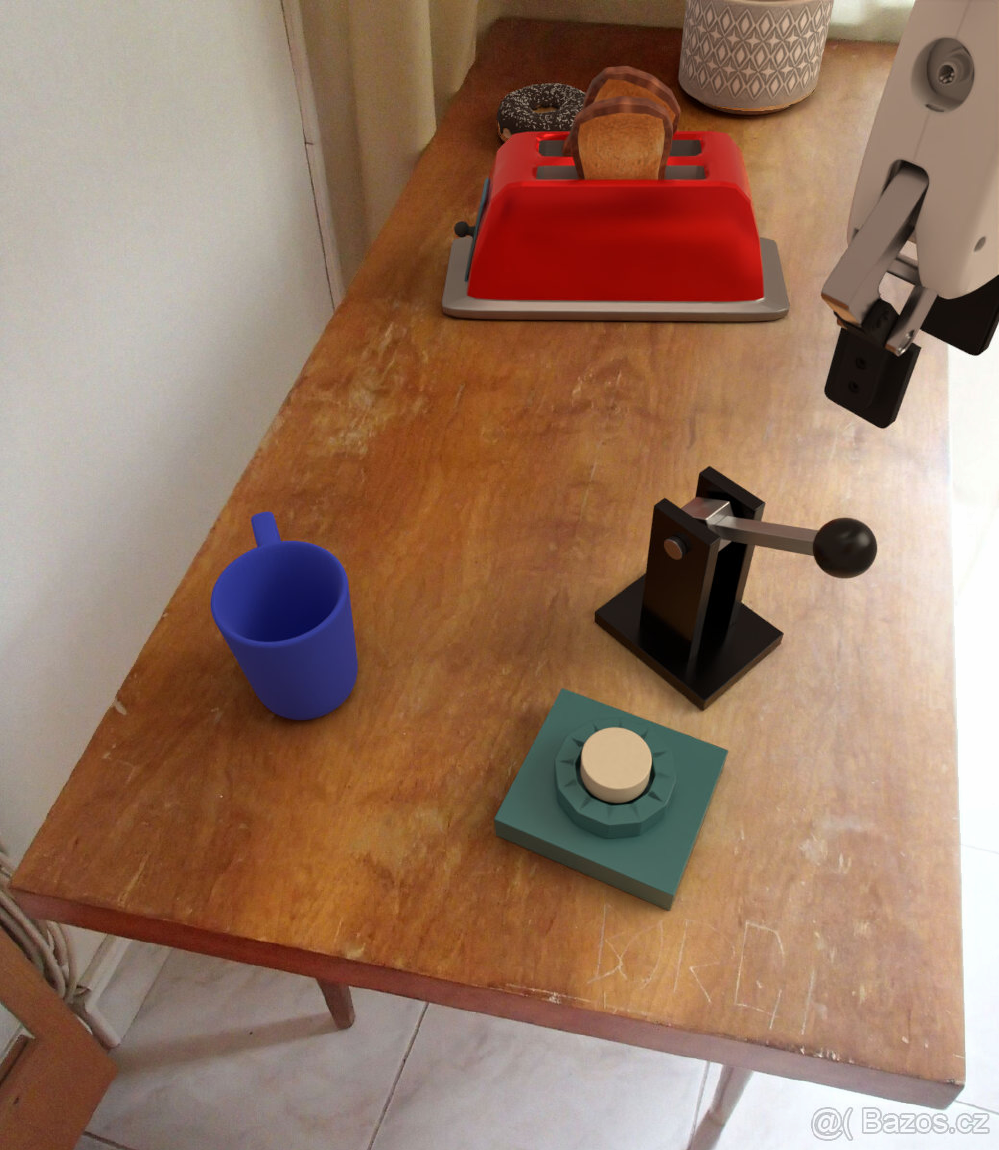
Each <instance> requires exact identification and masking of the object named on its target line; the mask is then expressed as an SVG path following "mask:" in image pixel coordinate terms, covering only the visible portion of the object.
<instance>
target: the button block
mask: <svg viewBox="0 0 999 1150" xmlns="http://www.w3.org/2000/svg"><path fill="white" fill-rule="evenodd" d="M614 727H616V728H624V729H627V730H630V731H632V732H634V733H636V734H637V735H639V736H640V737H641V738H642V739H643V740H644V741H645V743H646V744H647V746H648V747H649V749H650V752H651V757H652V764H651V770H650V776H649V781H648V784H647V786H646V788H645V790H644V791H643V792H642V793H641V794H640V795H639V796H638V797H636V798H634V799H632V800H630V801H627V802H623V803H611V802H606V801H603V800H601V799H599V798H597V797H595V796H594V795H593V794H592V793H590V792H589V790H588V789H587V788H586V787H585V785H584V783H583V781H582V778H581V754H582V749H583V746H584V744H585V743H586V741H587V740H588V738H590V737H591V736H592V735H593V734H594V733H596V732H598V731H600V730H602V729H606V728H614ZM728 755H729V750H728V749H726V748H723V747H721V746H719V745H715V744H713V743H710V742H707V741H704V740H702V739H700V738H696V737H694V736H691V735H688V734H686V733H683V732H681V731H678V730H675V729H673V728H670V727H668V726H665V725H662V724H659V723H657V722H654V721H651V720H649V719H646V718H644V717H641V716H638V715H636V714H633V713H630V712H628V711H625V710H622V709H619V708H617V707H614V706H611V705H609V704H606V703H603V702H601V701H598V700H596V699H593V698H590V697H587V696H585V695H582V694H580V693H577V692H574V691H571V690H569V689H566V688H563V687H562V688H560V691H559V693H558V694H557V696H556V697H555V700H554V702H553V704H552V706H551V708H550V709H549V712H548V714H547V716H546V718H545V719H544V721H543V723H542V725H541V726H540V729H539V731H538V733H537V735H536V736H535V739H534V740H533V742H532V745H531V746H530V748H529V750H528V752H527V754H526V756H525V758H524V760H523V762H522V764H521V766H520V768H519V769H518V771H517V774H516V775H515V778H514V779H513V781H512V783H511V785H510V787H509V789H508V790H507V793H506V794H505V797H504V799H503V801H502V803H501V804H500V806H499V809H498V810H497V812H496V814H495V816H494V818H493V821H494V822H493V823H494V833H495V836H496V837H499V838H501V839H503V840H506V841H508V842H509V843H510V842H511V843H513V844H515V845H518V846H520V847H522V848H524V849H527V850H529V851H531V852H533V853H536V854H538V855H540V856H543V857H545V858H547V859H548V860H552V861H554V862H557V863H559V864H561V865H563V866H566V867H568V868H570V869H573V870H575V871H577V872H580V873H582V874H584V875H586V876H588V877H591V878H593V879H595V880H597V881H599V882H603V883H605V884H607V885H610V886H611V887H614V888H616V889H618V890H621V891H623V892H625V893H627V894H630V895H632V896H634V897H637V898H639V899H642V900H644V901H646V902H649V903H651V904H653V905H655V906H657V907H660V908H662V909H664V910H667V911H671V910H672V908H673V905H674V902H675V900H676V896H677V894H678V891H679V889H680V886H681V884H682V882H683V881H682V880H683V878H684V875H685V872H686V870H687V868H688V865H689V862H690V859H691V857H692V854H693V852H694V849H695V846H696V843H697V841H698V838H699V836H700V833H701V830H702V827H703V825H704V822H705V819H706V817H707V814H708V811H709V809H710V805H711V803H712V801H713V798H714V796H715V793H716V790H717V787H718V784H719V781H720V779H721V776H722V773H723V772H724V768H725V766H726V765H725V764H726V762H727V758H728Z"/></svg>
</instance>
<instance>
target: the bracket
mask: <svg viewBox="0 0 999 1150" xmlns="http://www.w3.org/2000/svg"><path fill="white" fill-rule="evenodd" d="M695 497H701V498H709V499H716V500H723V501H729V502H730V505H731V508H732V511H733V515H734V517H736V518H743V519H749V520H755V521H762V520H763V517H764V511H765V507H766V502H765V501H764V500H762V499H761V498H759V497H758V496H756V495H755V494H754V493H752V492H750V491H748V490H747V489H746V488H744V486H741V485H740V484H738V483H737V482H735V481H734V480H732V479H731V478H729V477H727V476H726V475H724V474H723V473H722V472H720V471H718V470H717V469H716V468H714V467H712V466H711V465H708V466H706V467H705V468H704V469H703V470H702V471H700V472H699V473H698V478H697V484H696V489H695V495H694V498H695ZM681 508H682V507H679V506H678V505H676V504H675V503H673V502H672V501H671V500H670V499H668V498H666V497H664V498H662V499H661V500H659V501H658V502H656V503H655V504H654V505H653V509H652V516H651V517H652V519H651V527H650V534H649V542H648V551H647V559H646V568H645V573H644V574H642V575H641V576H639V577H638V578H637V579H636V580H634V581H633V582H631V583H630V584H629V585H628V586H627V587H625V588H624V589H623V590H621V591H620V592H619V593H617V594H616V595H615V596H613V597H612V598H611V599H609V600H608V601H607V602H605V603H604V604H603V605H601V606H600V607H599V608H597V609H596V610H594V619H593V622H594V623H595V624H597V626H599V628H600V629H602V630H603V631H604V632H606V633H607V634H608V635H610V636H611V637H612V638H613V639H614V640H616V641H617V642H618V643H619V644H620V645H622V646H623V647H624V648H625V649H626V650H628V651H629V653H631V654H633V655H634V656H635V657H636V658H638V659H639V660H640V661H641V662H642V663H643V664H644V665H646V666H647V667H648V668H649V669H650V670H652V671H653V672H654V673H656V674H657V675H658V676H659V677H660V678H661V679H663V680H664V681H665V682H666V683H668V684H669V685H670V686H671V687H672V688H674V689H675V690H676V691H677V692H678V693H679V694H681V695H682V696H684V697H685V698H686V699H687V700H688V701H689V702H691V704H693V705H694V706H695V707H697V708H698V709H699V710H700V711H701V712H704V711H705V710H706V709H707V708H709V707H710V706H711V705H712V704H713V703H714V702H716V701H717V700H718V699H719V698H720V697H721V696H723V695H724V694H725V693H726V692H727V691H728V690H730V689H731V688H732V687H733V686H734V685H736V683H738V682H739V681H740V680H741V679H742V678H744V676H746V674H748V673H749V672H750V671H752V670H753V669H754V668H755V667H756V666H757V665H758V664H759V663H760V662H762V661H763V660H764V659H765V658H766V657H768V656H769V655H770V654H771V653H772V652H773V651H775V649H777V648H778V647H779V646H780V645H781V644H782V641H783V638H784V635H785V634H784V632H782V631H781V630H780V629H779V628H777V627H776V626H775V625H773V624H771V623H770V622H769V621H768V620H766V619H765V618H763V617H762V616H761V615H760V614H758V613H757V612H756V611H754V610H752V609H751V608H750V607H749V606H748V605H746V604H744V603H743V602H742V601H743V597H744V593H745V589H746V585H747V581H748V577H749V572H750V569H751V565H752V561H753V556H754V552H755V549H756V546H755V545H750V544H744V543H739V542H734V541H731V542H730V543H729V544H728V545H726V546H725V547H724V548H722V549H721V550H720V551H719V546H720V541H721V536H719V535H718V534H716V533H715V532H713V531H712V530H711V529H709V528H708V527H706V526H705V525H703V524H702V523H701V522H699V521H698V520H696V519H695V518H693V517H692V516H691V515H689V514H688V513H686V512H685V511H683V510H682V509H681ZM718 551H719V552H718Z"/></svg>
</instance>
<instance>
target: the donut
mask: <svg viewBox="0 0 999 1150" xmlns="http://www.w3.org/2000/svg"><path fill="white" fill-rule="evenodd" d="M585 95H586V92H583V91H582V90H580V89H578V88H575V87H574V86H571V85H568V84H563V83H559V82H557V83H554V82H553V83H542V84H532V85H527V86H524V87H522V88H519V89H517V90H515V91H512V92H509V93H508V94H506V95H505V97H504V98H502V100H501V101H500V104H499V105H498V108H497V112H496V118H495V119H496V122H497V121H498V126H499V130H500V133H501V134H503V135H504V136H505V137H506V138H510V137H511V136H512V135H513V134H516V133H522V132H560V131H570V130H571V127H572V124H573V121H574V118H575V115H576V114H577V113H579V112H580V111H581V109H582V105H583V101H584V97H585ZM499 137H500V139H501V141H502V142H504V143H505V142H506V141H505V140H504V139H503V138H502V137H501V136H500V135H499Z"/></svg>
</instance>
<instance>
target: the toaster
mask: <svg viewBox="0 0 999 1150" xmlns="http://www.w3.org/2000/svg"><path fill="white" fill-rule="evenodd" d="M585 94H586V95H585V97H584V101H583V105H582V109H581V111H580V112H579V113H577V114H576V115H575V118H574V121H573V124H572V127H571V130H570V131H560V132H522V133H516V134H513V135H512V136H511V137H510V138H509V139H508V140H507V141H506V142H504V143H503V144H502V145H501V146H500V147H499V148H498V149H497V150H496V154H495V156H494V159H493V163H492V165H491V168H490V171H489V174H488V177H485V179H484V183H483V187H482V191H481V195H480V201H479V205H478V210H477V213H476V214H477V215H476V220H475V224H474V225H473V226H472V225H469V224H468V222H466V221H464V220H460V221H457V222H456V224H455V225H454V228H453V231H454V233H455V235H456V236H457V237H458V238H454V239H453V240H452V242H451V245H450V252H449V257H448V263H447V270H446V274H445V275H446V276H445V281H444V287H443V291H442V299H441V309H442V312H443V313H444V314H445V315H448V316H451V317H454V318H459V319H476V320H522V321H523V320H526V321H527V320H530V321H531V320H533V321H535V320H536V321H538V320H539V321H543V320H544V321H545V320H546V321H556V320H557V321H641V322H642V321H646V322H647V321H648V322H649V321H652V322H654V321H656V322H657V321H658V322H762V321H763V322H765V321H774V320H778V319H782V318H784V317H786V316H787V315H788V314H789V312H790V307H791V305H790V301H789V296H788V291H787V286H786V281H785V276H784V272H783V267H782V262H781V257H780V252H779V247H778V244H777V242H776V241H775V240H774V239H770V238H767V237H761V236H760V232H759V227H758V221H757V216H756V210H755V206H754V200H753V196H752V195H753V194H752V190H751V184H750V181H749V176H748V172H747V168H746V164H745V163H746V162H745V159H744V155H743V151H742V149H741V148H740V146H739V145H738V144H737V143H736V141H734V140H733V139H732V137H730V135H729V134H728V133H727V132H722V131H716V130H678V127H679V123H680V118H681V114H682V111H681V107H680V104H679V103H678V101H677V99H676V97H675V95H674V92H673V91H672V89H671V88H669V86H667V85H666V84H665V83H663V82H662V81H661V80H660V79H658V78H657V77H656V76H654V75H653V74H652V73H649V72H647V71H643V70H640V69H637V68H634V67H632V66H629V65H621V66H620V65H619V66H611V67H605V68H604V69H603V70H601V72H600V73H599V74H597V75H596V76H595V77H593V79H592V80H591V81H590V83H589V86H588V88H587V90H586V92H585Z"/></svg>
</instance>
